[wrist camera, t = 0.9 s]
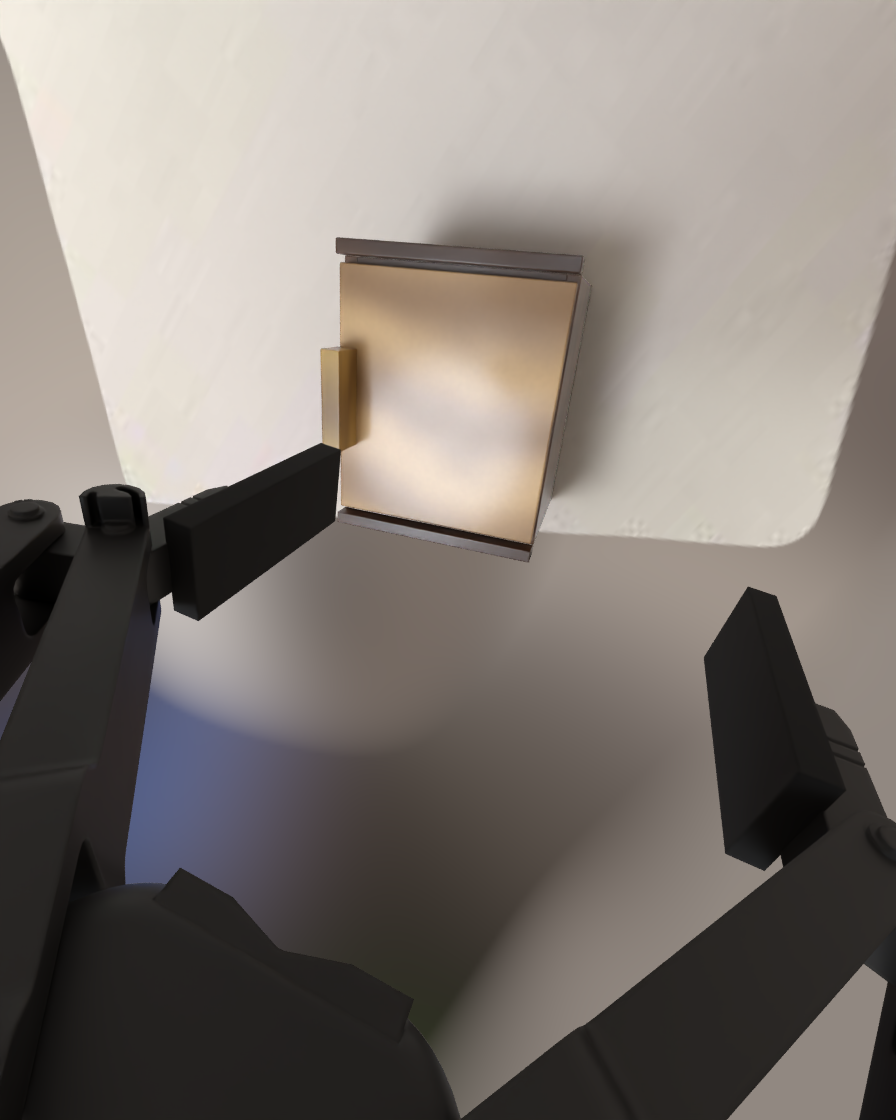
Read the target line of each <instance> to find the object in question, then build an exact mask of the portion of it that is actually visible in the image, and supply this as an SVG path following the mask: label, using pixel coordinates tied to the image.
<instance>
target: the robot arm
mask: <svg viewBox="0 0 896 1120" xmlns="http://www.w3.org/2000/svg"><path fill="white" fill-rule="evenodd" d="M340 456H341V449H338V448H335V447H332V446H329V445H326V444H323V443H320V444H318V445H316V446H313V447H311V448H309V449H307V450H305V451H303V452H301V453H299V454H297V455H294V456H292V457H290V458H288V459H286V460H284V461H282V462H280V463H278V464H275V465H273V466H271V467H269V468H267V469H265V470H263V471H261V472H258V473H256V474H254V475H252V476H250V477H248V478H246V479H244V480H242V481H239V482H237V483H235V484H233V485H231V486H229V487H228V486H223V487H218V488H213V489H208V490H205V491H203V492H201V493H199V494H197V495H194V496H193V498H191V497H190V498H188V499H186V500H184V501H182V502H181V504H180V503H177V504H175V505H173V506H170V507H168V508H166V509H164V510H162V511H160V512H158V513H155V514H153V515H151V516H149V517H148V512H147V504H146V497H145V493H144V492H143V491H142V490H141V489H139V488H137V487H133V486H130V485H122V484H109V485H101V486H97V487H92V488H90V489H88V490H86V491H84V492H83V493H82V494H81V495H80V496H79V499H80V503H81V508H82V513H83V518H84V522H85V526H84V525H78V524H71V523H66V522H63V518H62V515H61V510H60V508H59V506H58V505H56V504H54V503H52V502H48V501H43V500H32V499H28V500H24V501H23V500H18V501H14V502H12V503H8V504H5V505H2V506H0V701H1V700H2V698H3V697H4V696H5V695H6V693H7V692H8V691H9V689H10V688H11V687H12V686H13V684H14V683H15V682H16V681H17V679H18V678H19V677H20V676H21V674H22V673H23V672H24V671H25V669H26V668H27V667H28V666H29V664H30V663H31V665H30V667H29V670H28V672H27V675H26V677H25V680H24V682H23V685H22V687H21V690H20V692H19V695H18V698H17V700H16V703H15V705H14V707H13V710H12V712H11V715H10V717H9V720H8V722H7V725H6V727H5V730H4V732H3V735H2V737H1V740H0V1120H727V1119H728V1118H729V1117H730V1115H731V1114H732V1113H733V1112H734V1111H735V1109H737V1107H738V1106H739V1105H740V1104H741V1103H742V1102H743V1101H744V1099H745V1098H746V1097H747V1096H748V1095H749V1094H750V1092H752V1090H753V1089H754V1088H755V1087H756V1086H757V1085H758V1083H759V1082H760V1081H761V1080H762V1079H763V1078H764V1077H765V1076H766V1074H767V1073H768V1072H769V1071H770V1070H771V1069H772V1068H773V1066H774V1065H775V1064H776V1063H777V1062H778V1061H779V1060H780V1058H781V1057H782V1056H783V1055H784V1054H785V1053H786V1052H787V1050H788V1049H789V1048H790V1047H791V1046H792V1045H793V1044H794V1042H795V1041H796V1040H797V1039H798V1038H799V1037H800V1035H801V1034H802V1033H803V1032H804V1031H805V1030H806V1029H807V1028H808V1027H809V1025H810V1024H811V1023H812V1022H813V1021H814V1020H815V1019H816V1017H817V1016H818V1015H819V1014H820V1013H821V1012H822V1011H823V1009H824V1008H825V1007H826V1006H827V1005H828V1004H829V1003H830V1001H831V1000H832V999H833V998H834V997H835V995H836V994H837V993H838V992H839V991H840V990H841V989H842V988H843V987H844V985H845V984H846V983H847V982H848V981H849V980H850V978H851V977H852V976H853V975H854V974H855V973H856V972H857V971H858V969H859V968H860V967H861V966H862V965H863V964H865V965H866V966H868V967H869V968H870V969H872V970H873V971H874V972H876V973H877V974H878V975H880V976H881V977H882V978H884V979H885V980H886V981H888V983H887V988H886V993H885V998H884V1002H883V1007H882V1012H881V1017H880V1022H879V1026H878V1031H877V1036H876V1041H875V1046H874V1050H873V1056H872V1060H871V1065H870V1070H869V1074H868V1079H867V1084H866V1089H865V1094H864V1098H863V1103H862V1108H861V1113H860V1118H859V1120H896V823H895V822H894V821H892V820H891V819H888V818H887V816H886V813H885V811H884V809H883V807H882V804H881V802H880V799H879V797H878V794H877V792H876V790H875V787H874V785H873V782H872V780H871V778H870V775H869V773H868V771H867V769H866V768H864V765H865V763H864V761H863V759H862V756H861V754H860V752H858V747H857V744H856V742H855V739H854V737H853V735H852V732H851V730H850V729H849V728H848V727H847V725H846V724H845V723H844V722H843V720H842V719H841V718H840V717H839V716H838V714H837V713H836V712H835V711H834V710H832V709H829V708H826V707H824V706H821V705H818V704H816V703H815V702H814V699H813V696H812V693H811V691H810V688H809V685H808V682H807V680H806V677H805V674H804V671H803V669H802V666H801V663H800V660H799V658H798V655H797V652H796V649H795V646H794V644H793V641H792V638H791V635H790V633H789V630H788V627H787V624H786V622H785V619H784V616H783V613H782V610H781V608H780V605H779V602H778V599H777V597H776V596H775V595H771V594H768V593H766V592H763V591H760V590H757V589H753V588H751V587H747V589H746V591H745V592H744V594H743V596H742V597H741V599H740V600H739V602H738V604H737V605H736V607H735V608H734V610H733V611H732V613H731V615H730V616H729V618H728V620H727V621H726V623H725V624H724V626H723V627H722V629H721V631H720V632H719V634H718V636H717V637H716V639H715V640H714V642H713V643H712V645H711V647H710V648H709V650H708V652H707V653H706V655H705V656H704V664H705V673H706V682H707V691H708V700H709V709H710V718H711V727H712V736H713V746H714V754H715V764H716V773H717V781H718V791H719V800H720V809H721V819H722V827H723V837H724V846H725V853H726V854H727V855H730V856H732V857H734V858H736V859H739V860H741V861H743V862H746V863H748V864H750V865H752V866H754V867H757V868H759V869H762V870H764V871H765V870H766V869H767V868H768V867H769V866H770V865H771V864H772V863H773V862H774V861H775V860H776V859H777V858H778V857H779V856H780V855H781V859H782V864H783V868H782V869H781V870H779V871H778V872H777V873H776V874H774V875H773V876H772V877H771V878H769V879H768V880H767V881H766V882H764V883H763V884H762V885H761V886H759V887H758V888H757V889H755V890H754V891H753V892H752V893H750V894H749V895H748V896H747V897H746V898H744V899H743V900H742V901H741V902H739V903H738V904H737V905H735V906H734V907H733V908H732V909H730V910H729V911H728V912H727V913H725V914H724V915H723V916H722V917H720V918H719V919H718V920H717V921H715V922H714V923H713V924H712V925H710V926H709V927H708V928H706V929H705V930H704V931H703V932H701V933H700V934H699V935H698V936H696V937H695V938H694V939H693V940H691V941H690V942H689V943H688V944H686V945H685V946H684V947H683V948H681V949H680V950H679V951H678V952H676V953H675V954H674V955H673V956H671V957H670V958H669V959H668V960H666V961H665V962H664V963H663V964H661V965H660V966H659V967H658V968H656V969H655V970H654V971H652V972H651V973H650V974H649V975H647V976H646V977H645V978H644V979H642V980H641V981H640V982H639V983H637V984H636V985H635V986H634V987H632V988H631V989H630V990H629V991H627V992H626V993H625V994H624V995H623V996H621V997H620V998H619V999H617V1000H616V1001H615V1002H614V1003H612V1004H611V1005H610V1006H609V1007H607V1008H606V1009H605V1010H604V1011H602V1012H601V1013H600V1014H599V1015H597V1016H596V1017H595V1018H593V1019H592V1020H591V1021H589V1022H588V1023H587V1024H586V1025H584V1026H581V1027H579V1028H577V1029H575V1030H574V1031H572V1032H571V1033H570V1034H568V1035H567V1036H566V1037H564V1038H563V1039H562V1040H560V1041H559V1042H558V1043H556V1044H555V1045H554V1046H553V1047H551V1048H550V1049H549V1050H548V1051H546V1052H545V1053H544V1054H543V1055H541V1056H540V1057H539V1058H538V1059H536V1060H535V1061H534V1062H532V1063H531V1064H530V1065H529V1066H527V1067H526V1068H525V1069H524V1070H523V1071H521V1072H520V1073H519V1074H517V1075H516V1076H515V1077H513V1078H512V1079H511V1080H510V1081H508V1082H507V1083H506V1084H505V1085H503V1086H502V1087H501V1088H500V1089H498V1090H497V1091H496V1092H494V1093H493V1094H492V1095H491V1096H489V1097H488V1098H487V1099H486V1100H484V1101H483V1102H482V1103H481V1104H479V1105H478V1106H477V1107H476V1108H474V1109H473V1110H472V1111H471V1112H469V1113H468V1114H467V1115H465V1116H464V1117H463V1118H462V1119H461V1118H460V1115H459V1112H458V1108H457V1105H456V1102H455V1098H454V1095H453V1092H452V1089H451V1087H450V1085H449V1082H448V1080H447V1077H446V1075H445V1073H444V1070H443V1068H442V1066H441V1064H440V1063H439V1061H438V1059H437V1057H436V1055H435V1053H434V1052H433V1050H432V1048H431V1047H430V1045H429V1044H428V1043H427V1041H426V1040H425V1038H424V1037H423V1036H422V1034H421V1033H420V1031H419V1030H418V1029H417V1028H416V1027H415V1026H414V1025H413V1024H412V1023H411V1022H410V1021H409V1019H408V1015H409V1012H410V1009H411V1006H412V1003H413V1000H414V999H412V998H411V997H408V996H407V995H405V994H403V993H401V992H400V991H398V990H396V989H395V988H392V987H391V986H389V985H387V984H386V983H384V982H382V981H380V980H378V979H377V978H375V977H373V976H371V975H370V974H368V973H366V972H364V971H363V970H361V969H359V968H357V967H355V966H354V965H352V964H347V963H342V962H337V961H332V960H327V959H322V958H317V957H312V956H307V955H301V954H297V953H291V952H287V951H283V950H281V949H279V948H278V947H277V946H276V945H275V944H274V943H273V942H272V941H271V940H270V939H269V938H268V937H267V935H266V934H265V933H264V932H263V931H262V930H261V929H260V928H259V927H258V925H257V924H256V923H255V922H254V921H253V920H252V918H251V917H250V916H249V915H248V914H247V913H246V912H245V911H244V909H243V908H242V907H241V906H240V905H239V904H238V903H237V901H236V900H235V899H234V898H233V897H231V896H230V895H228V894H226V893H224V892H223V891H221V890H219V889H217V888H215V887H214V886H212V885H210V884H208V883H206V882H205V881H203V880H201V879H199V878H198V877H196V876H194V875H192V874H190V873H189V872H187V871H185V870H183V869H182V868H179V870H178V871H177V872H176V873H175V875H174V876H173V877H172V878H171V879H170V880H169V882H168V883H167V884H162V883H137V884H126V885H125V854H126V846H127V839H128V832H129V825H130V819H131V812H132V805H133V798H134V792H135V785H136V777H137V771H138V765H139V758H140V751H141V744H142V737H143V731H144V724H145V717H146V710H147V704H148V697H149V690H150V683H151V676H152V669H153V663H154V656H155V650H156V642H157V635H158V628H159V622H160V615H161V605H160V599H162V598H163V597H165V596H166V595H168V594H169V593H171V592H172V597H173V605H174V611H177V612H179V613H181V614H183V615H186V616H188V617H190V618H192V619H195V620H197V621H199V620H201V619H202V618H203V617H205V616H206V615H207V614H209V613H210V612H211V611H213V610H214V609H216V608H217V607H218V606H219V605H221V604H222V603H224V602H225V601H227V600H228V599H229V598H231V597H232V596H233V595H235V594H236V593H237V592H239V591H240V590H242V589H243V588H244V587H246V586H247V585H248V584H250V583H251V582H253V581H254V580H255V579H257V578H258V577H259V576H261V575H262V574H263V573H265V572H266V571H268V570H269V569H270V568H271V567H273V566H274V565H276V564H277V563H278V562H280V561H281V560H283V559H284V558H285V557H287V556H288V555H289V554H291V553H292V552H294V551H295V550H296V549H298V548H299V547H300V546H302V545H303V544H304V543H306V542H307V541H309V540H310V539H311V538H313V537H314V536H315V535H317V534H318V533H319V532H321V531H322V530H324V529H325V528H326V527H328V526H329V525H330V524H332V523H333V522H334V521H335V515H336V503H337V491H338V479H339V467H340Z"/></svg>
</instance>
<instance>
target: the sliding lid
mask: <svg viewBox="0 0 896 1120" xmlns="http://www.w3.org/2000/svg"><path fill="white" fill-rule="evenodd" d="M577 289H578V283H576V282H566V281H554V280H543V279H531V278H520V277H508V276H496V275H485V274H473V273H462V272H450V271H438V270H427V269H415V268H404V267H392V266H380V265H369V264H357V263H346V262H341V263H340V347H333V348H323V349H321V393H322V439H323V444H326V445H329V446H332V447H335V448H338V449H341V505H343V506H348V507H353V508H357V509H362V510H367V511H372V512H377V513H382V514H387V515H392V516H397V517H401V518H406V519H411V520H416V521H421V522H426V523H431V524H436V525H440V526H445V527H450V528H455V529H460V530H465V531H470V532H475V533H480V534H484V535H489V536H494V537H499V538H504V539H509V540H514V541H519V542H523V543H528V544H531V542H532V539H533V534H534V529H535V523H536V517H537V512H538V506H539V501H540V495H541V490H542V484H543V478H544V473H545V467H546V462H547V456H548V451H549V445H550V439H551V434H552V428H553V423H554V417H555V412H556V406H557V401H558V395H559V389H560V384H561V378H562V373H563V367H564V362H565V356H566V350H567V345H568V339H569V334H570V328H571V323H572V317H573V311H574V306H575V300H576V295H577Z"/></svg>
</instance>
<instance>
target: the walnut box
mask: <svg viewBox="0 0 896 1120" xmlns="http://www.w3.org/2000/svg"><path fill="white" fill-rule="evenodd" d="M336 253H337V254H342V255H347V256H345V262H346V263H357V264H369V265H380V266H392V267H404V268H415V269H427V270H438V271H450V272H462V273H473V274H485V275H496V276H508V277H520V278H531V279H543V280H554V281H566V282H576V283H578V289H577V295H576V300H575V306H574V311H573V317H572V323H571V328H570V334H569V339H568V345H567V350H566V356H565V362H564V367H563V373H562V378H561V384H560V389H559V395H558V401H557V406H556V412H555V417H554V423H553V428H552V434H551V439H550V445H549V451H548V456H547V462H546V467H545V473H544V478H543V484H542V490H541V495H540V501H539V506H538V512H537V517H536V523H535V529H534V534H533V539H532V542H531V544H532V545H529V544H528V543H527V544H524V543H519V541H518V542H514V540H513V541H509V539H508V540H504V538H503V539H500V538H495V537H494V536H493V537H490V536H485V535H480V533H479V534H475V532H474V533H470V531H469V532H466V531H465V530H464V531H461V530H455V528H454V529H451V528H446V527H441V526H436V524H435V525H431V523H430V524H427V523H426V522H425V523H422V522H421V521H420V522H417V521H416V520H415V521H412V520H407V519H402V518H397V516H396V517H392V515H391V516H388V515H387V514H386V515H383V514H382V513H381V514H378V513H377V512H376V513H373V512H372V511H371V512H368V511H363V510H358V509H354V508H353V507H351V508H349V507H348V506H347V507H344V508H343V509H342V510H340V511H339V512H338V522H341V523H346V524H350V525H355V526H360V527H364V528H369V529H374V530H378V531H383V532H388V533H392V534H398V535H402V536H407V537H412V538H416V539H420V540H425V541H430V542H434V543H439V544H444V545H449V546H453V547H458V548H463V549H467V550H473V551H477V552H481V553H486V554H491V555H496V556H500V557H505V558H509V559H514V560H519V561H524V562H529V560H530V557H531V554H532V549H533V544H534V542H535V539H536V536H537V534H538V531H539V529H540V526H541V524H542V521H543V519H544V516H545V514H546V511H547V509H548V506H549V504H550V501H551V498H552V493H553V487H554V482H555V477H556V472H557V466H558V461H559V456H560V451H561V445H562V440H563V435H564V430H565V424H566V419H567V414H568V409H569V403H570V398H571V393H572V388H573V382H574V377H575V372H576V367H577V361H578V356H579V351H580V346H581V340H582V335H583V330H584V325H585V319H586V314H587V309H588V304H589V298H590V293H591V288H592V285H591V284H590V283H589V282H588V281H587V280H586V279H585V278H584V277H583V276H582V275H581V274H582V273H583V267H584V262H585V258H584V257H583V256H582V255H569V254H555V253H542V252H528V251H515V250H501V249H488V248H474V247H461V246H448V245H434V244H421V243H407V242H394V241H380V240H367V239H353V238H340V237H337V238H336ZM357 256H359V257H357ZM369 257H371V258H369ZM381 258H383V259H381ZM393 259H395V260H393ZM405 260H407V261H405ZM417 261H419V262H417ZM429 262H431V263H429ZM441 263H444V264H441ZM453 264H456V265H453ZM466 265H468V266H466ZM478 266H480V267H478ZM490 267H492V268H490ZM502 268H504V269H502ZM514 269H516V270H514ZM526 270H528V271H526ZM538 271H540V272H538ZM550 272H552V273H550ZM562 273H564V274H562ZM567 274H568V275H567ZM574 274H576V275H574Z"/></svg>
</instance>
